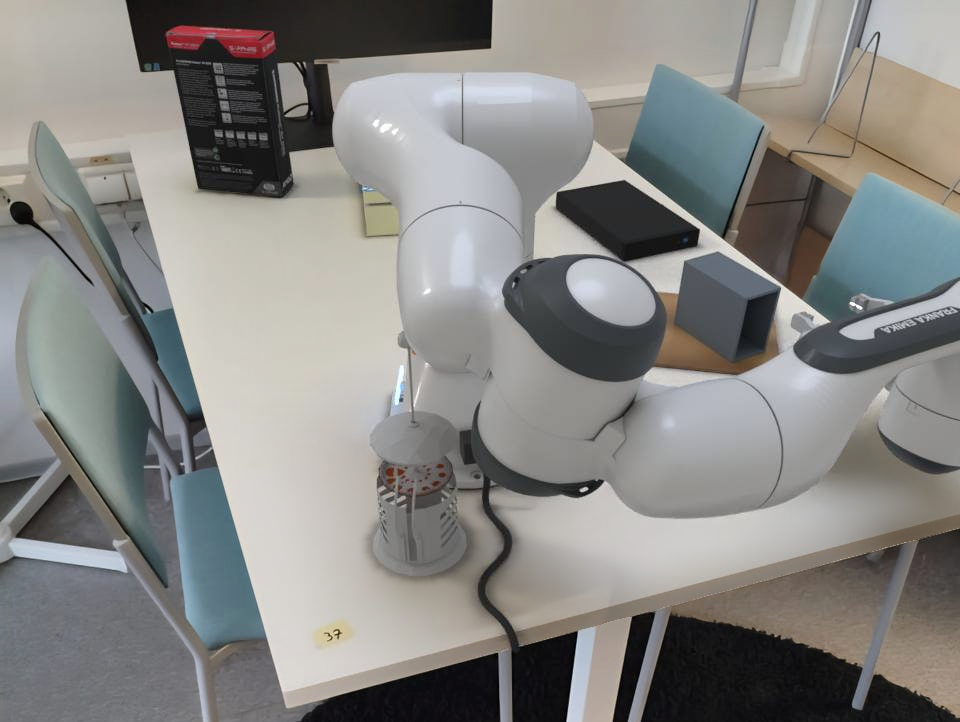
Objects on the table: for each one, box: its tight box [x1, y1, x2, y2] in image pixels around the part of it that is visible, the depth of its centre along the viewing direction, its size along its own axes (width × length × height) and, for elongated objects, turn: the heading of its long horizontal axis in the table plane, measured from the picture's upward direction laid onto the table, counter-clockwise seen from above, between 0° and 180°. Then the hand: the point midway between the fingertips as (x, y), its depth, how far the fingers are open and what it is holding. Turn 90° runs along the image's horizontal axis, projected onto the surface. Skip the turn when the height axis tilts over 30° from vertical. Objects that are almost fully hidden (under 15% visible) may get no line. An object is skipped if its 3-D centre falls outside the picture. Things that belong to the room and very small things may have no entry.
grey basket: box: [674, 250, 782, 363], centre depth 116 cm, size 12×6×10 cm, turn 29°
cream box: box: [358, 183, 399, 237], centre depth 160 cm, size 45×15×10 cm, turn 8°
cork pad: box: [653, 291, 780, 375], centre depth 121 cm, size 20×18×1 cm
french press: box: [369, 330, 468, 577], centre depth 80 cm, size 10×12×25 cm
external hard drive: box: [555, 179, 701, 262], centre depth 147 cm, size 14×23×3 cm, turn 24°
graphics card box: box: [165, 25, 295, 198], centre depth 152 cm, size 17×7×27 cm, turn 80°
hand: (825, 309), depth 101 cm, fingers open, 8 cm apart
